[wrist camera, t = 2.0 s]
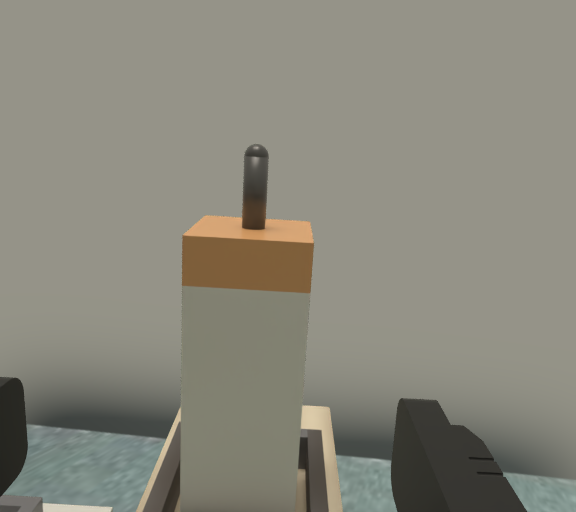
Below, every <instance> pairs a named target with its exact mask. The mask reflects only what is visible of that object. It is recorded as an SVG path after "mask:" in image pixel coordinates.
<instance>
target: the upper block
mask: <svg viewBox="0 0 576 512" xmlns="http://www.w3.org/2000/svg"><path fill="white" fill-rule="evenodd" d="M180 456H181V407H180V409H179V411H178V414H177V416H176V419H175V421H174V423H173V426H172V428H171V430H170V433H169V435H168V437H167V440H166V442H165V444H164V447H163V449H162V452H161V454H160V456H159V459H158V461H157V463H156V466H155V468H154V470H153V473H152V475H151V477H150V480H149V482H148V485H147V487H146V489H145V492H144V494H143V496H142V499H141V501H140V503H139V506H138V508H137V510H136V512H180ZM295 512H343V510H342V502H341V494H340V486H339V478H338V471H337V463H336V455H335V447H334V439H333V432H332V424H331V416H330V408H329V407H319V406H302V417H301V432H300V446H299V460H298V474H297V488H296V502H295Z"/></svg>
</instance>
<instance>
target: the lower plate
mask: <svg viewBox="0 0 576 512" xmlns="http://www.w3.org/2000/svg"><path fill="white" fill-rule="evenodd" d="M0 512H113V507H96V506H80V505H63V504H46V503H43V502H42V497H28V496H11V495H2V496H1V497H0Z"/></svg>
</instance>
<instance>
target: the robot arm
mask: <svg viewBox="0 0 576 512" xmlns="http://www.w3.org/2000/svg"><path fill="white" fill-rule="evenodd" d="M27 448H28V442H27V428H26V415H25V402H24V390H23V385H22V383H21V381H20V380H19V379H18V378H9V377H0V497H1V496H2V495H3V493H4V492H5V491H6V490H7V489H8V487H9V486H10V485H11V484H12V483H13V481H14V480H15V479H16V478H17V477H18V475H19V474H20V472H21V470H22V468H23V465H24V463H25V459H26V455H27ZM391 484H392V492H393V497H394V501H395V504H396V508H397V512H527V511H526V509H525V508H524V506H523V504H522V503H521V501H520V500H519V498H518V496H517V495H516V493H515V492H514V490H513V488H512V487H511V485H510V484H509V482H508V480H507V479H506V477H503V473H502V471H501V469H500V468H499V466H498V465H497V463H496V462H494V459H493V457H492V455H491V453H490V452H489V450H488V449H487V447H486V445H485V444H484V442H483V441H482V440H481V439H480V438H478V437H477V436H476V435H474V434H473V433H472V432H471V431H469V430H468V429H467V428H466V427H464V426H460V425H450V423H449V421H448V419H447V417H446V416H445V414H444V412H443V410H442V408H441V406H440V405H439V403H438V401H436V400H424V399H403V398H401V399H400V400H399V403H398V407H397V415H396V426H395V434H394V444H393V453H392V463H391Z"/></svg>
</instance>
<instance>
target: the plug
mask: <svg viewBox="0 0 576 512" xmlns="http://www.w3.org/2000/svg"><path fill="white" fill-rule="evenodd" d="M268 159H269V157H268V152H267V150H266V149H265V147H263V146H262V145H259V144H254V145H251V146H249V147H248V148H247V150H246V152H245V156H244V183H243V210H242V218H241V217H224V216H207V215H206V216H204V217H203V218H202V219H201V220H200V221H198V222H197V223H196V224H195V225H194V226H193V227H192V228H190V229H189V230H188V231H187V232H186V233H185V234H184V235H183V242H182V244H183V245H182V249H183V251H182V349H181V355H182V356H181V361H182V362H181V456H180V512H295V502H296V488H297V474H298V460H299V446H300V432H301V417H302V403H303V388H304V375H305V361H306V347H307V333H308V319H309V305H310V304H309V303H310V291H311V277H312V262H313V248H314V241H313V236H312V230H311V224H310V222H309V221H292V220H275V219H266V201H267V180H268Z"/></svg>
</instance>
